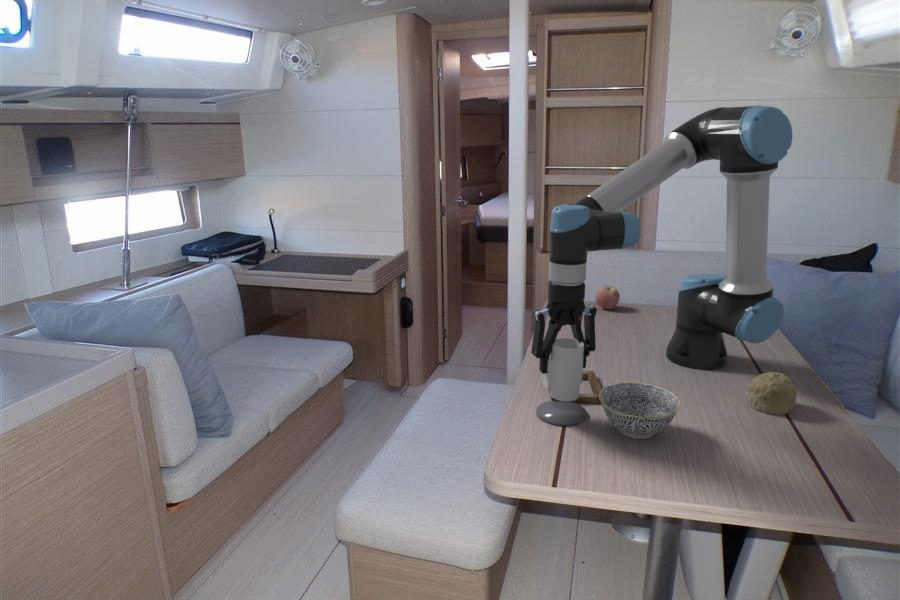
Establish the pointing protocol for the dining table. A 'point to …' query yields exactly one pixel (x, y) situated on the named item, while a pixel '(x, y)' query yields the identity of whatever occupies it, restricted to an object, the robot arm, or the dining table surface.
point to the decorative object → (772, 393)
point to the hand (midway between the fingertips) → (562, 383)
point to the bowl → (638, 408)
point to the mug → (566, 369)
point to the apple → (607, 297)
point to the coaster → (561, 413)
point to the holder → (594, 386)
